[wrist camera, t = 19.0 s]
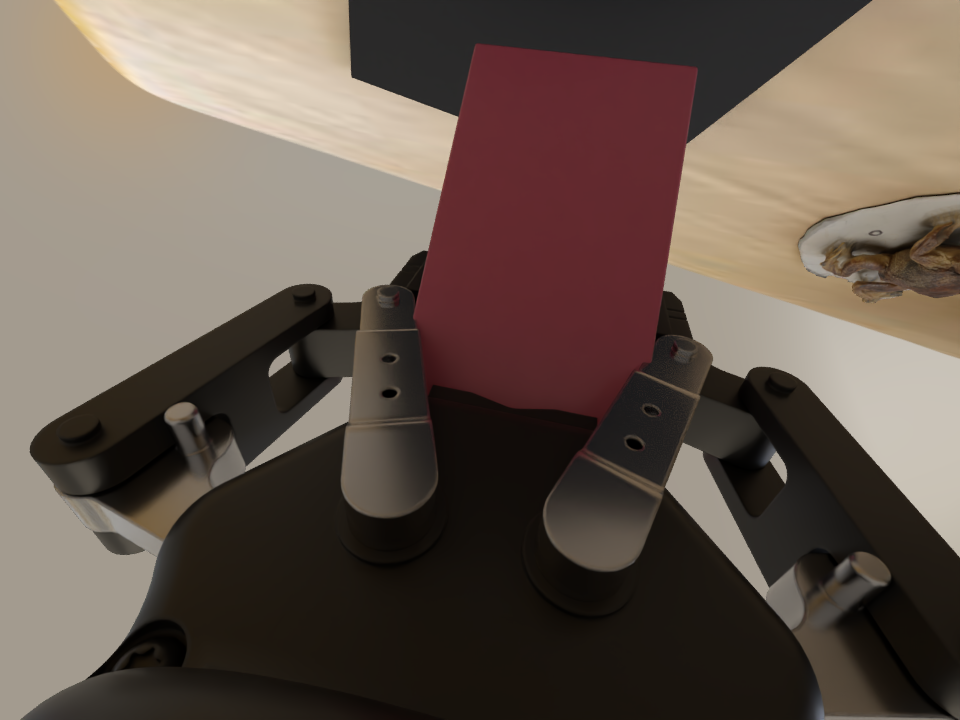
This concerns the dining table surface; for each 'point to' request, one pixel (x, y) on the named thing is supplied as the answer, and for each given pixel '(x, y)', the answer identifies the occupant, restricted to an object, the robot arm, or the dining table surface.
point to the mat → (589, 41)
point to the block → (554, 227)
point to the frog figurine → (890, 248)
